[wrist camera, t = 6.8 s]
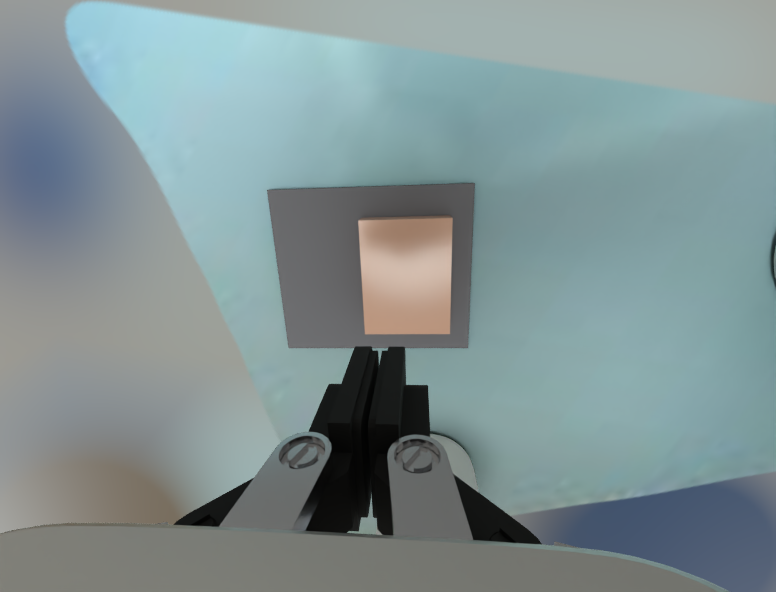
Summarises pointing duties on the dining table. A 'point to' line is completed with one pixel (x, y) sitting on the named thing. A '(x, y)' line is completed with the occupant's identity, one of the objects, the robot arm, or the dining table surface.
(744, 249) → the dining table surface
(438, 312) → the tile
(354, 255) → the mat
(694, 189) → the dining table surface
